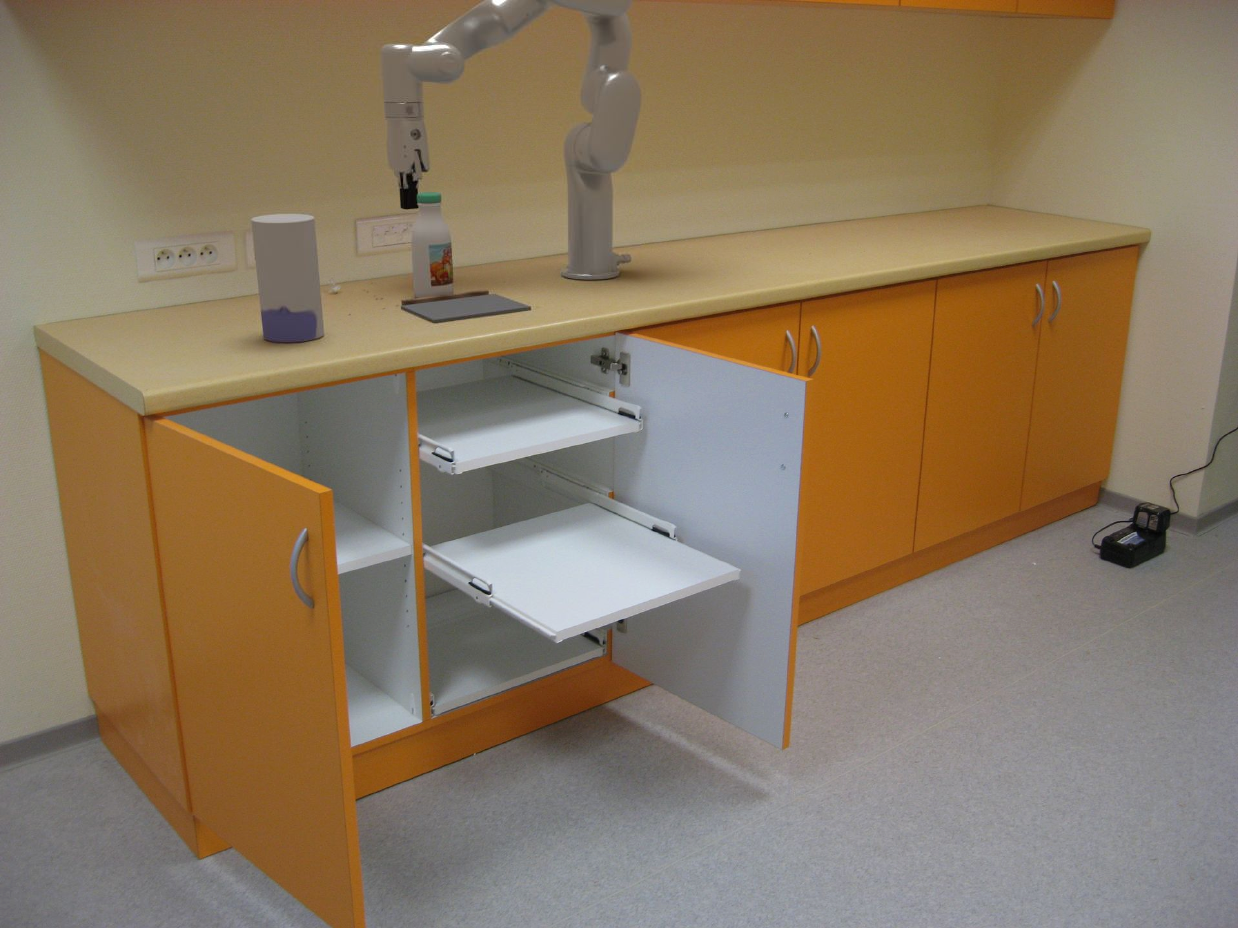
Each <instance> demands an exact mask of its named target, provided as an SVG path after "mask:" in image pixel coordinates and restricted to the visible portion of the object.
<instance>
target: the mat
mask: <svg viewBox="0 0 1238 928" xmlns="http://www.w3.org/2000/svg"><path fill="white" fill-rule="evenodd" d="M400 310H402V311H405V312H407V313H409V314H412V315H414V316H417V317H419V318H421V319H423V320H426V321H428V322H430V323H433V324H439V323H446V322H453V321H460V320H466V319H475V318H482V317H483V318H484V317H488V316H497V315H503V314H504V315H505V314H510V313H518V312H524V311H525V312H527V311H531V310H532V306H530V305H527V304H524V303H522V302H519V301H517V300H513V299H510V298H508V297H505V296H503V295H501V294H500V295H499V294H497V293H490V294H489V295H481V296H473V297H466V298H458V299H450V300H442V301H434V302H427V303H419V304H411V305H403V306H402V305H400Z"/></svg>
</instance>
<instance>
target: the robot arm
mask: <svg viewBox="0 0 1238 928" xmlns="http://www.w3.org/2000/svg"><path fill="white" fill-rule="evenodd" d="M633 2H634V0H483V1H481V2H479V3H478V4H477V5H474V7H472V8H471V9H470V10H468V11H466V12H465V13H464V14H463V15H461V16H460V17H458V18H456V19H455V20H453V21H452V22H450V23H449V24H448V25H446V26H445V27H443V28H441V30H439V31H438V32H436V33H435V34H433V35H432V36H431V37H429V38H428V39H427V40H425V42H423V43H422V44H421V45H416V44H413V43H387V44H385V45H383V46H382V47H381V50H380V62H381V63H380V65H381V79H382V94H383V95H382V96H383V97H382V98H383V110H384V111H383V112H384V120H385V121H386V152H387V153H386V154H387V156H386V157H387V164H388V167H389V168H390V170H392V171H393V176H395V177H396V178H397V185H398V189H399V203H400V206H399V207H400V209H402V210H419V206H418V205H417V204H418V202H417V194H418V193H419V186H420V183H419V181H421V180H423V174H422V173H428V172H430V168H431V165H430V164H431V163H430V151H429V143H428V135H427V129H426V125H425V121H424V120H425V110H424V109H425V108H424V106H425V105H424V93H423V92H424V91H423V90H424V89H423V88H424V87H423V86H424V85H423V83H431V84H439V85H451V84H453V83H455V82H456V81H458V80H459V79H460V78H461V77H462V76H463V74H464V72H465V67H466V61H468V60H469V59H470V58H472V57H474V56H475V55H477V54H479V53H480V52H481V53H482V52H483V51H484V50H487V49H490V48H493V47H496V46H500V45H502V44H504V43H506V42H507V41H510V40H511V39H512V38H515V36H517V35H518V34H519V33H521V32H522V31H523V30H524V29H526V28H527V27H528V26H529V25H531V24H532V23H534V22H535V21H536V20H537V19H539V18H541V17H542V16H544V14H546V13H547V12H549V11H550V10H552V8H559V7H560V8H564V9H568V10H572V11H577V12H580V14H581V15H582V16H583V18H584V19H585V22H586V23H587V26H588V29H589V33H590V34H589V35H590V42H589V49H588V55H587V60H586V65H585V68H584V73H583V78H582V82H581V87H580V91H579V101H580V103H581V105H582V107H583V109H584V110H585V111H586V112H587V113H589V114H591V115H592V121H583V122H580V123H577V124H576V125H573V126H572V127H571V128H570V130H568V132H567V134H566V136H565V138H564V142H563V157H564V165H565V166H564V167H565V170H566V172H565V173H566V184H567V250H568V251H567V253H568V255H567V258H568V259H567V261H568V265H566V266H564V267H562V268H561V269H560V275H561V276H563V277H564V278H568V279H574V280H584V281H585V280H586V281H587V280H588V281H589V280H590V281H592V280H595V281H597V280H598V281H599V280H607V279H612V278H613V279H614V278H617V277H618V276H620V275H621V274H620V268H619V267H618V266H619V265H620V264H629V263H631V261H632V256H631V254H630V253H626V254H625V253H624V254H618V253H617V252H613V250H614V249H613V244H614V243H613V241H614V240H613V239H614V238H613V237H614V236H613V232H614V231H613V220H614V219H613V215H614V214H613V211H614V210H613V207H614V205H613V204H614V203H613V201H614V195H613V194H614V191H613V189H614V188H613V187H614V186H613V181H612V174H613V173H615V172H617V171H619V170H621V168H623V167H624V166H625V164H626V163H627V161H628V159H629V156H630V153H631V150H632V146H633V142H634V139H635V133H636V131H637V130H636V129H637V127H638V121H639V117H640V112H641V107H642V90H641V86H640V83H639V81H638V79H637V78H636V77H635V76H634V75H633V74H632V73H631V72H629V66H630V59H631V55H632V47H633V30H632V26H631V22H630V20H629V17H628V14H627V12H629V10H630V8H631V7H632V5H633Z"/></svg>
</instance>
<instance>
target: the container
mask: <svg viewBox="0 0 1238 928" xmlns="http://www.w3.org/2000/svg"><path fill="white" fill-rule="evenodd" d="M250 221H251V230H252V240H253V251H254V259H255V268H256V269H255V270H256V279H257V290H258V297H259V299H258V300H259V307H260V317H261V326H262V335H263V336H262V337H263V339H265V340H267V341H268V342H269V341H270V342H275V343H298V342H299V343H300V342H306V341H307V342H308V341H313V340H316V339H319V338H321V337H323V336H324V335H325V329H324V328H325V327H324V315H323V314H324V313H323V304H322V294H321V293H322V292H321V281H320V279H321V278H320V269H319V257H318V248H317V247H318V245H317V243H318V242H317V235H316V223H315V222H316V221H315V216H313V215H311V214H310V215H309V214H303V213H302V214H301V213H276V214H274V213H273V214H265V215H260V216H259V215H258V216H255V217H252V218H251V220H250Z"/></svg>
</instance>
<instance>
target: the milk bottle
mask: <svg viewBox="0 0 1238 928" xmlns="http://www.w3.org/2000/svg"><path fill="white" fill-rule="evenodd" d="M417 202H418V204H417V205H418V206H419V208H418V213H417V216H416V220H415V223H414V225H413V228H412V233H411V260H412V261H411V262H412V263H411V264H412V279H413V280H412V281H413V295H414V297H415V298H423V297H431V296H439V295H447V294H455V293H454V291H455V290H454V289H455V286H454V285H455V284H454V269H453V268H454V267H453V264H454V262H453V250H452V249H453V248H452V237H451V232H450V228H449V226H448V224H447V222H446V221H445V219H444V218H445V217H444V216H443V212H442V210H441V209H442V208H441V206H442V193H440V192H435V191H433V192H429V191H428V192H426V191H425V192H424V191H423V192H418V194H417Z"/></svg>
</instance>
